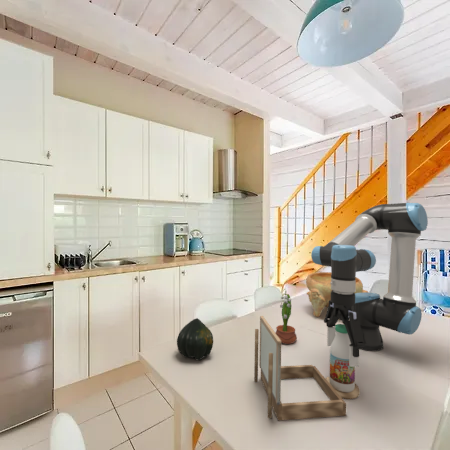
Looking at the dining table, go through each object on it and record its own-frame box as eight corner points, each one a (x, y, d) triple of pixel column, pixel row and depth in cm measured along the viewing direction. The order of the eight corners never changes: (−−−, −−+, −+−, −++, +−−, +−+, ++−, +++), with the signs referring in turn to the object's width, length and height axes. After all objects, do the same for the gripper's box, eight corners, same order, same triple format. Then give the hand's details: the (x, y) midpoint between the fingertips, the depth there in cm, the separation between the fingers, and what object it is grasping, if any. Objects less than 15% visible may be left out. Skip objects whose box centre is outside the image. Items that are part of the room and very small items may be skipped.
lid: (262, 366, 94) (262, 316, 94) (280, 404, 74) (281, 341, 74) (259, 366, 93) (260, 316, 93) (276, 405, 74) (277, 341, 74)
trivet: (347, 378, 95) (347, 375, 95) (367, 398, 84) (367, 395, 84) (317, 379, 93) (317, 376, 93) (334, 400, 82) (334, 397, 82)
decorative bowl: (290, 306, 176) (291, 272, 176) (335, 303, 185) (336, 270, 185) (322, 326, 143) (323, 283, 143) (375, 320, 152) (375, 280, 152)
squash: (188, 356, 97) (207, 318, 105) (164, 345, 108) (183, 311, 115) (209, 371, 105) (225, 335, 113) (185, 359, 115) (202, 326, 123)
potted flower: (297, 348, 117) (298, 291, 117) (274, 346, 119) (275, 290, 119) (295, 337, 128) (296, 285, 128) (274, 335, 130) (275, 284, 130)
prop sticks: (257, 380, 93) (258, 328, 92) (272, 418, 74) (273, 354, 74) (253, 380, 92) (254, 328, 92) (268, 418, 74) (269, 354, 74)
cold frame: (314, 375, 96) (314, 363, 96) (346, 415, 76) (346, 399, 76) (260, 378, 94) (260, 365, 94) (278, 420, 74) (278, 404, 74)
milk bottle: (325, 379, 92) (326, 321, 92) (346, 378, 92) (347, 321, 92) (336, 393, 84) (337, 330, 84) (359, 392, 85) (360, 330, 85)
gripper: (315, 283, 100) (314, 339, 100) (354, 302, 76) (353, 377, 76) (333, 282, 101) (333, 338, 101) (379, 302, 76) (377, 375, 76)
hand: (341, 355), depth 88 cm, fingers open, 13 cm apart
